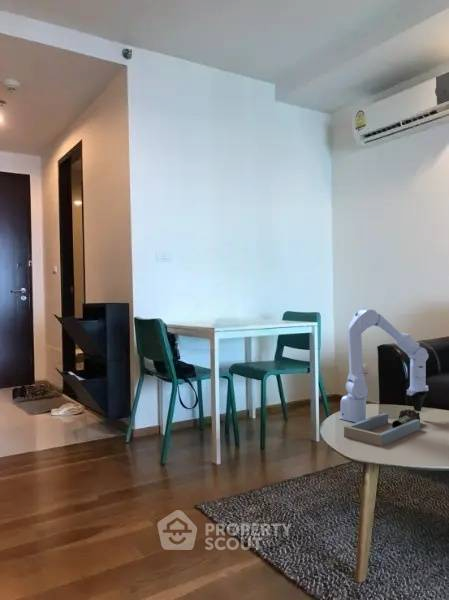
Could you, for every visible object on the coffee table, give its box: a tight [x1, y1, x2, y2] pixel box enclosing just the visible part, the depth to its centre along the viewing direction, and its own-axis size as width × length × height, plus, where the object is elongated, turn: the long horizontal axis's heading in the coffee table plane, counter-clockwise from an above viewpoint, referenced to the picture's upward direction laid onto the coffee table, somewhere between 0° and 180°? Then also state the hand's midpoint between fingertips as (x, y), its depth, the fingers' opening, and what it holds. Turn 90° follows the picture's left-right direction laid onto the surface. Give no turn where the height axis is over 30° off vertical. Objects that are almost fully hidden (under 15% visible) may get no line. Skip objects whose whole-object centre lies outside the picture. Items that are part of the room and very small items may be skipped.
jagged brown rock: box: [391, 409, 422, 429], centre depth 177 cm, size 18×7×6 cm, turn 137°
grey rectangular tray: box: [343, 412, 421, 447], centre depth 169 cm, size 14×28×4 cm, turn 133°
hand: (417, 410), depth 187 cm, fingers closed
